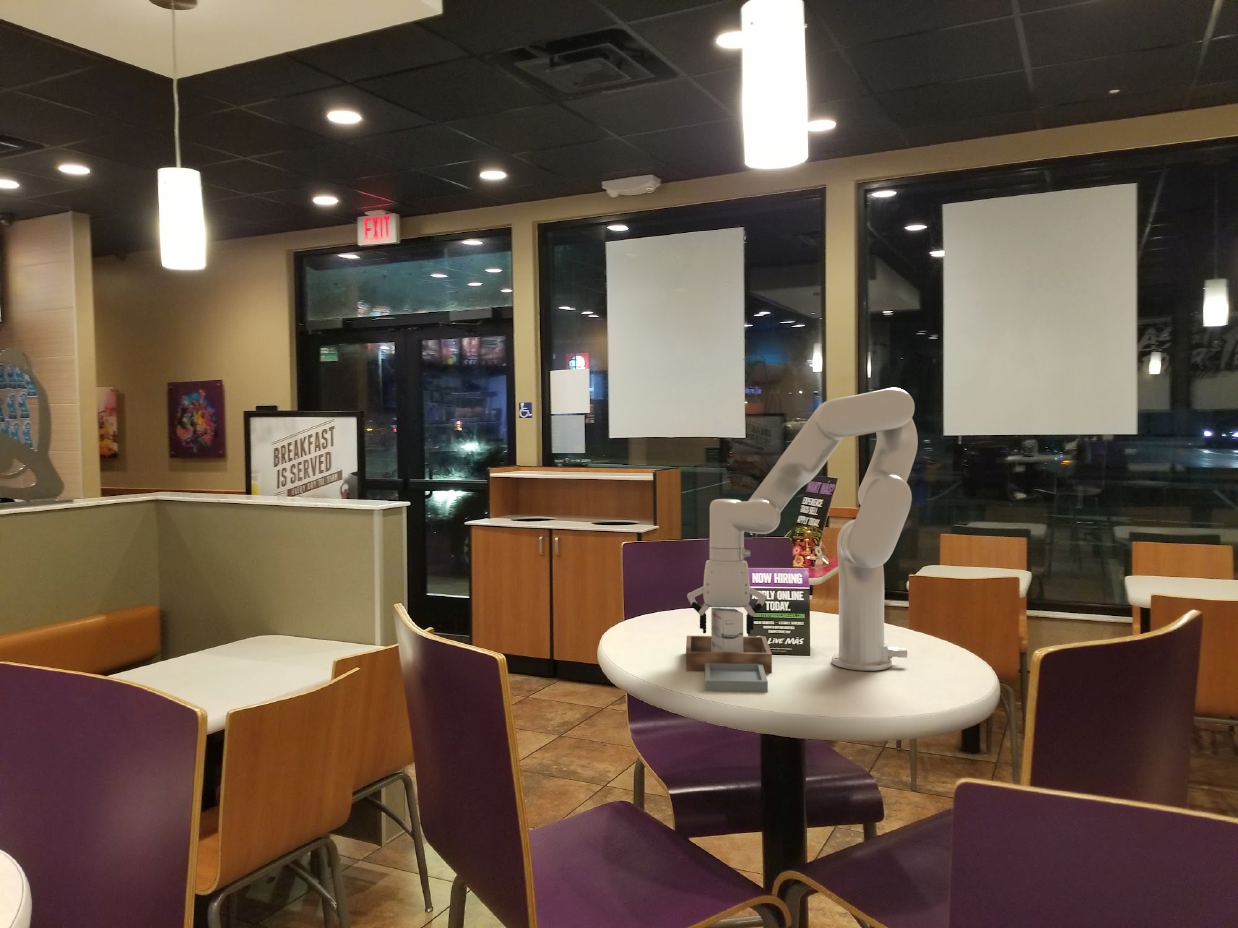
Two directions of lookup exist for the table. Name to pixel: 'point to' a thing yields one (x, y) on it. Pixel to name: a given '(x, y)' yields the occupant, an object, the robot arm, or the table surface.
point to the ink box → (726, 630)
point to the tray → (735, 677)
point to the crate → (727, 653)
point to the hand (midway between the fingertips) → (726, 632)
